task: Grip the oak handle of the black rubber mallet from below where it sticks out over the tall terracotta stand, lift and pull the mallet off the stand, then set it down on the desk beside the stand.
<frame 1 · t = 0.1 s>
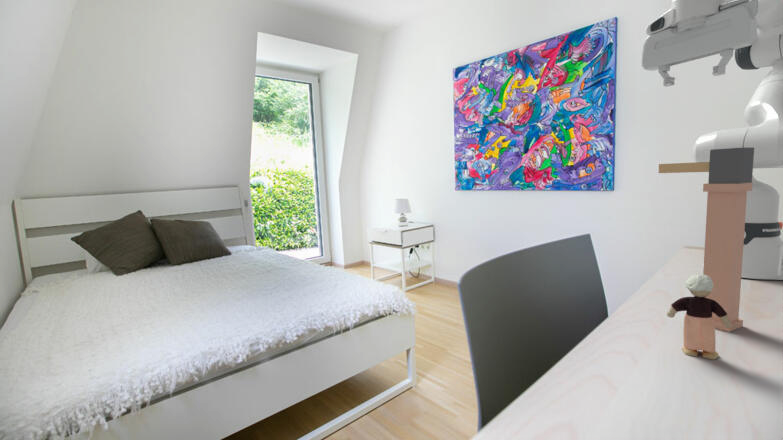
hand: (692, 80, 83), 48 cm above the table, tool pointing down, fingers open, 8 cm apart
stand: (719, 324, 69), on the table
mallet: (729, 183, 66), point 26 cm above the table, touching stand
grandmother figurine: (695, 354, 59), on the table
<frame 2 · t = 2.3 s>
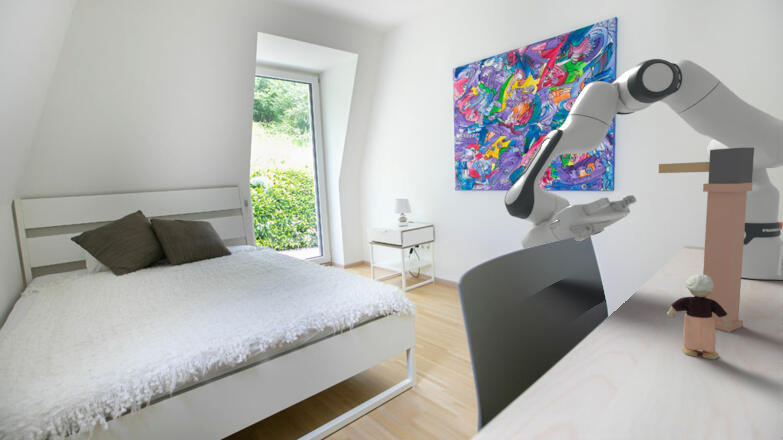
hand: (620, 199, 84), 23 cm above the table, tool pointing upward, fingers open, 8 cm apart
nothing on the table moved.
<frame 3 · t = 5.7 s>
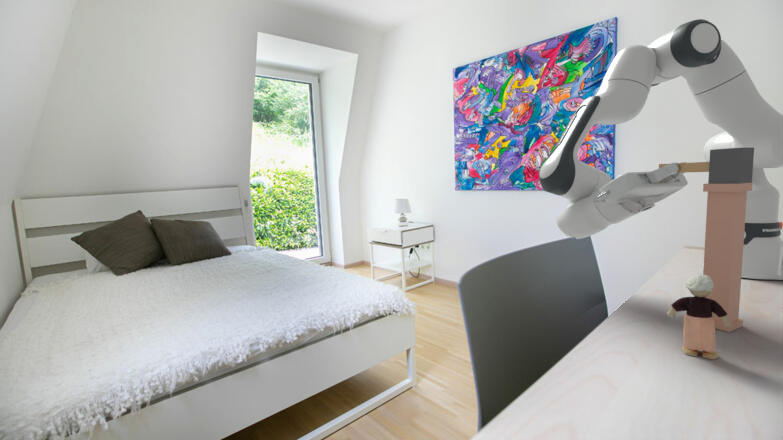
hand: (682, 165, 72), 29 cm above the table, tool pointing upward, fingers closed on mallet, 2 cm apart
mallet: (729, 183, 66), point 26 cm above the table, touching gripper, stand
everything else where it was.
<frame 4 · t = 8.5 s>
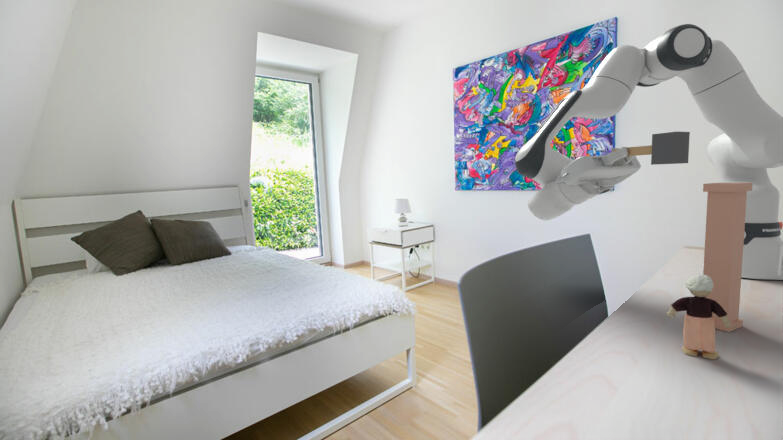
hand: (631, 149, 81), 33 cm above the table, tool pointing upward, fingers closed on mallet
mallet: (669, 163, 75), point 30 cm above the table, touching gripper
everything else where it was.
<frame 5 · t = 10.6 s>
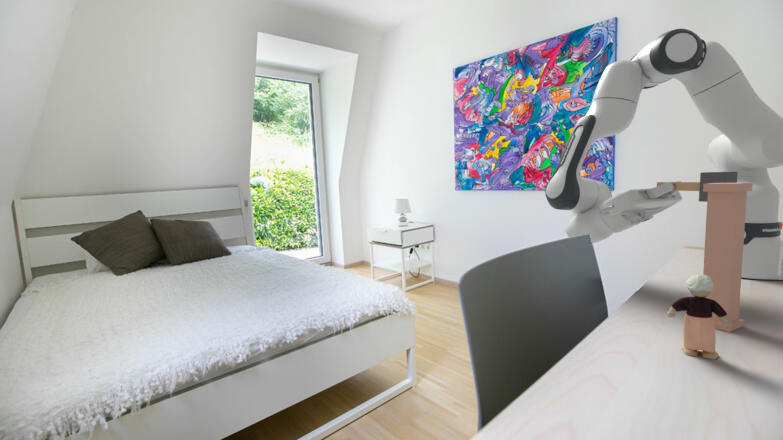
hand: (677, 184, 84), 25 cm above the table, tool pointing upward, fingers closed on mallet, 2 cm apart
mallet: (716, 201, 78), point 22 cm above the table, touching gripper
everything else where it was.
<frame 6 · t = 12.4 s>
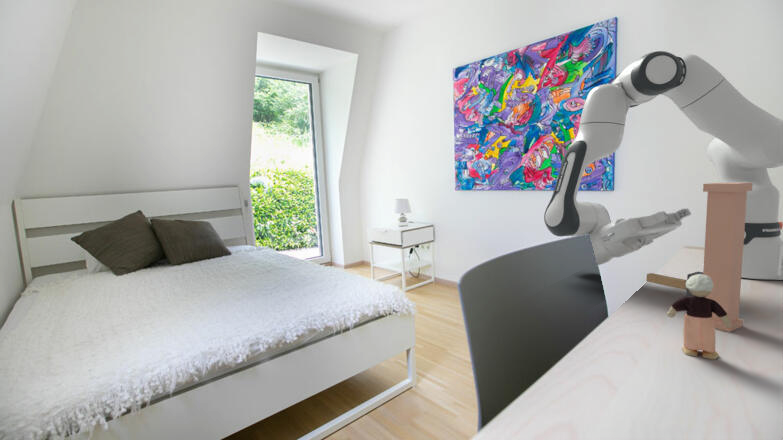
hand: (676, 212, 85), 19 cm above the table, tool pointing upward, fingers open, 8 cm apart
mallet: (703, 302, 81), on the table
everything else where it was.
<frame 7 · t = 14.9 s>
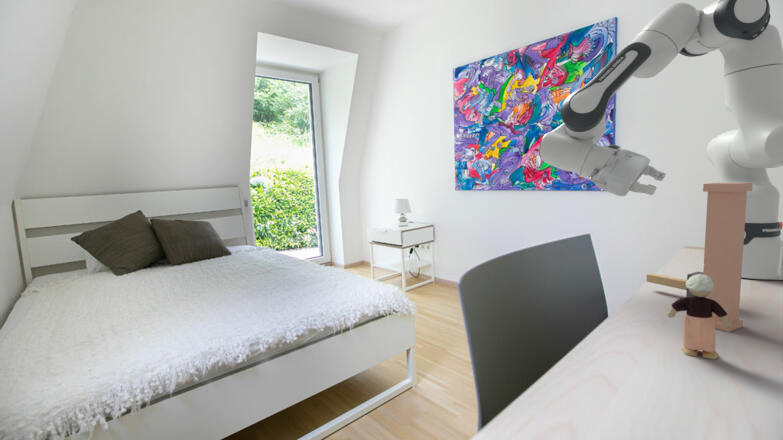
hand: (659, 184, 90), 25 cm above the table, tool tilted 65°, fingers open, 8 cm apart
nothing on the table moved.
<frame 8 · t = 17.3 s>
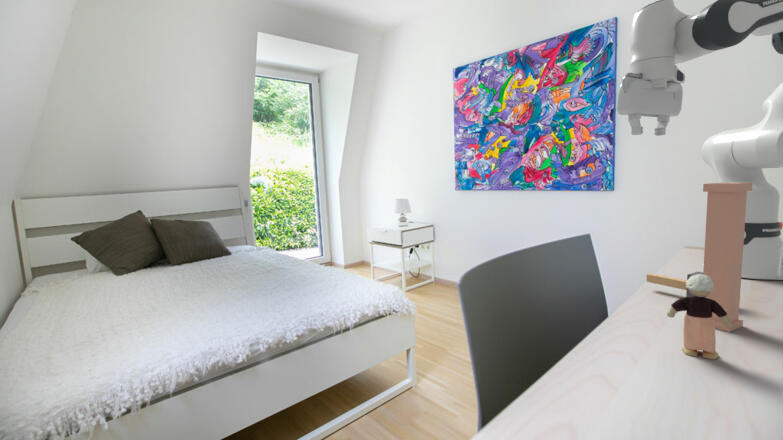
hand: (648, 135, 90), 37 cm above the table, tool pointing down, fingers open, 8 cm apart
nothing on the table moved.
at the end: the gripper is holding nothing; mallet inside the target area (0.9 cm from its centre), on the table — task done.
